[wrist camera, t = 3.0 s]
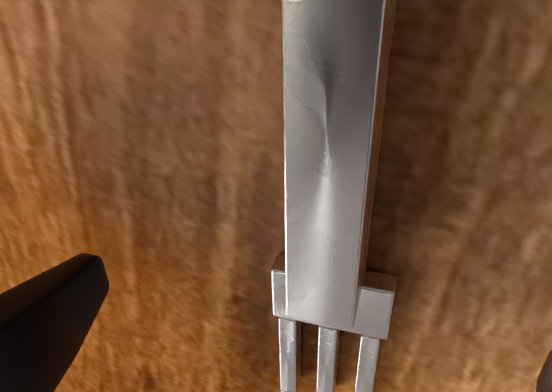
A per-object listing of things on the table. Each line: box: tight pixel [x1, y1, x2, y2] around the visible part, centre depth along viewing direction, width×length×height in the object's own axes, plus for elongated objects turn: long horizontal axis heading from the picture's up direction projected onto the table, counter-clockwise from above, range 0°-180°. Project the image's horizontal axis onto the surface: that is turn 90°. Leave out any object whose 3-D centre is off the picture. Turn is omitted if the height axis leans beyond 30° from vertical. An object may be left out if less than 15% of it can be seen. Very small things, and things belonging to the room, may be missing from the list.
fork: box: [271, 0, 397, 392], centre depth 12 cm, size 17×4×2 cm, turn 1°
